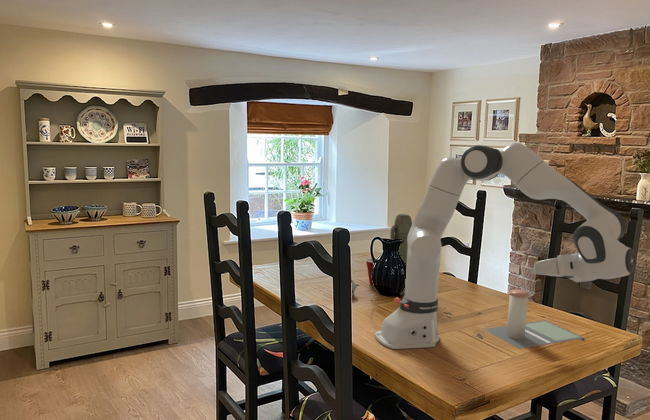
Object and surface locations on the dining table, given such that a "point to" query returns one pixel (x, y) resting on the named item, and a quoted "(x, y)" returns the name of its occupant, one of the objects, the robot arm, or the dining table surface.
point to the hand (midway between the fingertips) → (540, 272)
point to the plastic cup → (369, 269)
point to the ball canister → (517, 314)
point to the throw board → (536, 334)
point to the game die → (353, 286)
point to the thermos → (402, 235)
